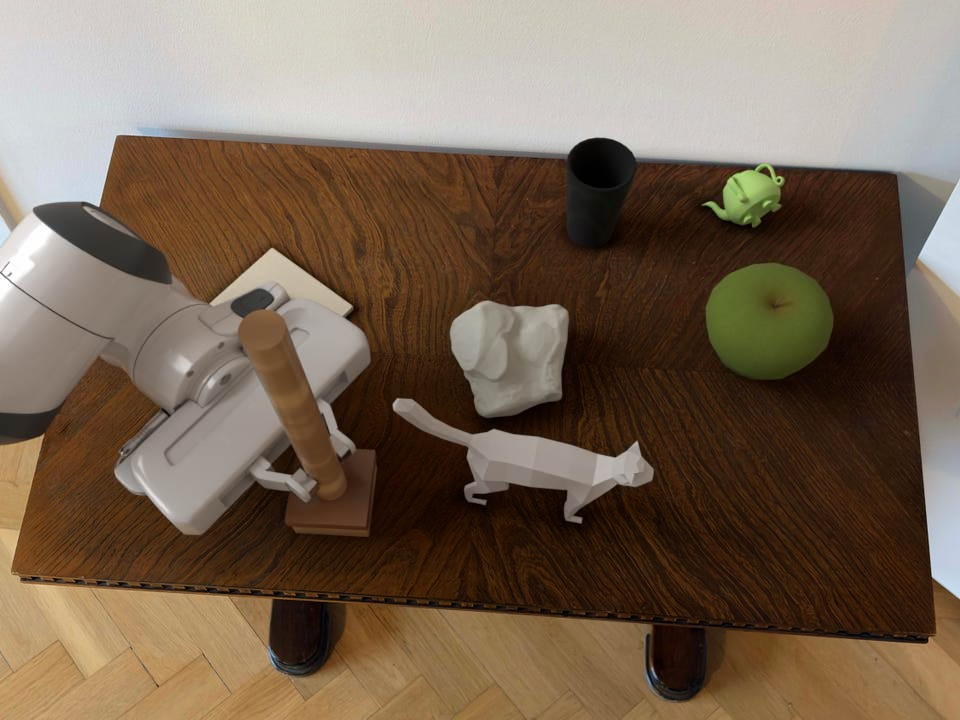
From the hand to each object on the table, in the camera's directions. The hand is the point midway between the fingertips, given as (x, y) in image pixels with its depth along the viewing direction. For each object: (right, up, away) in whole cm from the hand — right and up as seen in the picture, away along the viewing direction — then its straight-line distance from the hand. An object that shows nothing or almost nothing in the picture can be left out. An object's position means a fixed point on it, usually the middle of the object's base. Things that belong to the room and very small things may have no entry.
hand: (331, 473), depth 63 cm
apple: (+36, +9, +16) cm, 41 cm away
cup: (+22, +22, +23) cm, 39 cm away
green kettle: (+38, +23, +24) cm, 50 cm away
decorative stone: (+14, +7, +15) cm, 22 cm away
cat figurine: (+14, -3, +10) cm, 18 cm away
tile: (-9, +13, +18) cm, 24 cm away
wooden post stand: (-1, -3, +7) cm, 8 cm away
